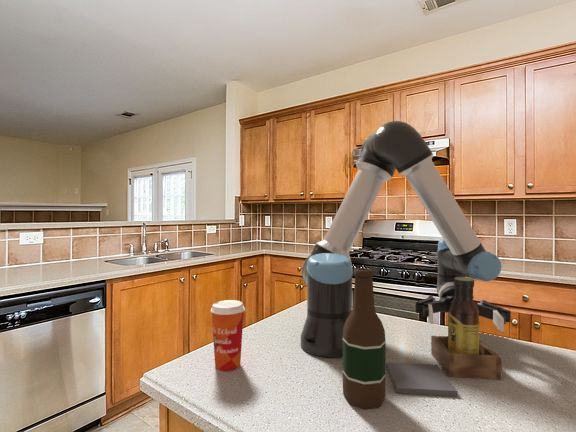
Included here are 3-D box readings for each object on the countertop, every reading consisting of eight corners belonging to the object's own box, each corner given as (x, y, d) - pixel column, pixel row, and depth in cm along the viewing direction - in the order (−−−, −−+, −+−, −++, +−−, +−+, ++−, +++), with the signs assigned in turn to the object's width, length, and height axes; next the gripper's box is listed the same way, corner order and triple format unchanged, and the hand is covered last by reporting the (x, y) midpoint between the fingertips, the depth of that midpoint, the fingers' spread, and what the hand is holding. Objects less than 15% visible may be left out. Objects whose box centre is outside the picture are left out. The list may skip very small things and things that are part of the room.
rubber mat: (396, 392, 62) (396, 387, 62) (386, 366, 73) (386, 362, 73) (457, 396, 61) (457, 391, 61) (437, 369, 72) (437, 364, 72)
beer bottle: (387, 412, 56) (387, 273, 56) (341, 407, 58) (341, 271, 58) (383, 389, 64) (383, 266, 64) (343, 385, 65) (343, 265, 65)
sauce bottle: (447, 357, 78) (447, 274, 78) (476, 362, 76) (476, 276, 76) (449, 369, 72) (449, 279, 72) (481, 374, 70) (481, 281, 70)
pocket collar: (448, 376, 69) (448, 355, 69) (431, 353, 80) (431, 335, 80) (501, 379, 68) (501, 357, 68) (476, 356, 79) (476, 337, 79)
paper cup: (203, 370, 72) (203, 306, 72) (222, 356, 79) (222, 298, 79) (234, 376, 69) (234, 310, 69) (251, 361, 76) (251, 301, 76)
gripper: (507, 317, 86) (534, 346, 66) (406, 307, 95) (404, 331, 75) (507, 288, 86) (534, 310, 66) (406, 281, 95) (404, 298, 75)
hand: (465, 321), depth 71 cm, fingers open, 13 cm apart
